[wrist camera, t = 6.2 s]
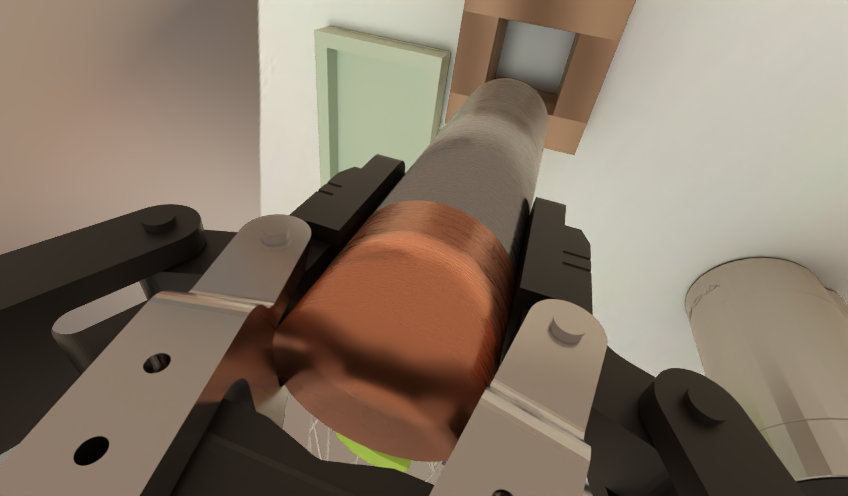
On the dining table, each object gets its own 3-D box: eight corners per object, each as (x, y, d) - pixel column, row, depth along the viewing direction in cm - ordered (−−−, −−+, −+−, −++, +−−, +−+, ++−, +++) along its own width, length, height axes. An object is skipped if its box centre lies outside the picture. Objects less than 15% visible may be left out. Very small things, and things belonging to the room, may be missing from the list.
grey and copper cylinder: (560, 89, 15) (517, 366, 5) (532, 173, 17) (461, 485, 7) (470, 69, 15) (256, 276, 5) (454, 152, 17) (282, 412, 7)
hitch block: (628, -11, 24) (637, -5, 20) (574, 130, 30) (574, 155, 26) (486, -35, 26) (470, -34, 22) (461, 103, 31) (444, 123, 27)
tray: (450, 51, 29) (442, 58, 27) (426, 208, 38) (418, 220, 36) (330, 25, 31) (314, 30, 29) (333, 181, 40) (321, 192, 38)
